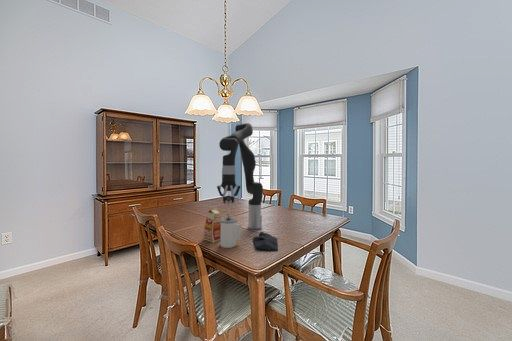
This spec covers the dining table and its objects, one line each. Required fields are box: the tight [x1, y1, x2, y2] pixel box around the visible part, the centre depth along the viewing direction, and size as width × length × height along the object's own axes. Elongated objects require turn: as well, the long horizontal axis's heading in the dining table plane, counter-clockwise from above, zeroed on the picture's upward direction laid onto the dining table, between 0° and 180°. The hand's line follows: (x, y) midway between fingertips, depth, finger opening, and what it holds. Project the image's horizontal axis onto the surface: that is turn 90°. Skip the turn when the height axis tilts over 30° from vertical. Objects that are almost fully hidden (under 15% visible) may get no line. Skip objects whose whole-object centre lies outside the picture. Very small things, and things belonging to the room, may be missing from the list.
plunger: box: [225, 194, 232, 220], centre depth 138 cm, size 4×4×16 cm
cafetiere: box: [219, 216, 242, 249], centre depth 139 cm, size 12×9×15 cm
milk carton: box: [202, 207, 221, 243], centre depth 149 cm, size 9×9×20 cm
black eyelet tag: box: [252, 231, 279, 252], centre depth 142 cm, size 15×22×5 cm
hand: (228, 203), depth 138 cm, fingers closed on plunger, 3 cm apart
